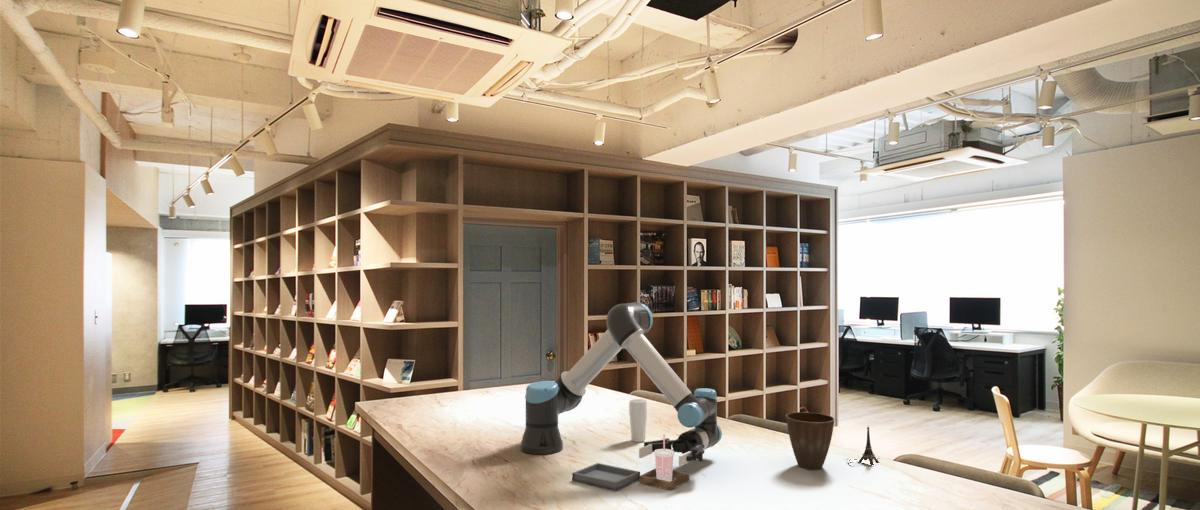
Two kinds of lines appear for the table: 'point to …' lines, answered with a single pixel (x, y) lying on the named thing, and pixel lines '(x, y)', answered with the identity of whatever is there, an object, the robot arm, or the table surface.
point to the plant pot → (810, 438)
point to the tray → (606, 476)
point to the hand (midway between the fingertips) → (659, 457)
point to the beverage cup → (664, 463)
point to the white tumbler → (638, 419)
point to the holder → (650, 480)
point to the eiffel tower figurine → (868, 451)
